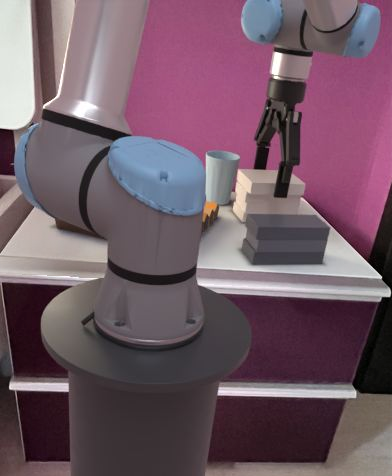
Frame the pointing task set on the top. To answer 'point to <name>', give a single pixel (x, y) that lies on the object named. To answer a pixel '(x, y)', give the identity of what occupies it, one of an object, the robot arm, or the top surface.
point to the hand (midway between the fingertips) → (268, 187)
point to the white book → (267, 182)
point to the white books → (263, 204)
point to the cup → (220, 175)
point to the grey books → (285, 239)
